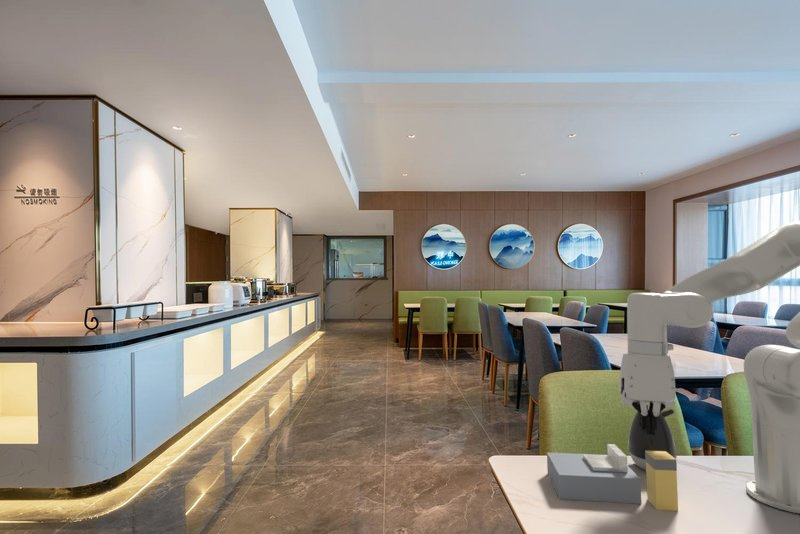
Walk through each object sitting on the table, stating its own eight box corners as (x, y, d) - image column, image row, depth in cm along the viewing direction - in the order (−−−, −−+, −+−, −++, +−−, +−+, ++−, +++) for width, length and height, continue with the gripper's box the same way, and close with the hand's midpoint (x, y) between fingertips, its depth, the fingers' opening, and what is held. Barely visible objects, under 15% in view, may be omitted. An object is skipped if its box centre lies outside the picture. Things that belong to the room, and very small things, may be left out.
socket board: (618, 477, 97) (617, 455, 97) (641, 503, 85) (640, 478, 85) (547, 473, 99) (546, 452, 99) (560, 499, 87) (559, 474, 87)
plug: (668, 500, 86) (666, 451, 87) (678, 511, 82) (676, 459, 83) (647, 499, 87) (645, 450, 87) (656, 509, 83) (654, 458, 83)
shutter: (615, 459, 95) (614, 444, 95) (627, 472, 88) (627, 456, 88) (583, 457, 96) (582, 443, 96) (592, 470, 89) (592, 455, 89)
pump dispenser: (686, 479, 95) (683, 412, 96) (636, 475, 98) (634, 410, 98) (667, 461, 105) (664, 400, 106) (622, 458, 108) (620, 398, 108)
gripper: (674, 347, 95) (675, 429, 94) (605, 345, 97) (605, 425, 96) (693, 352, 87) (694, 441, 86) (617, 349, 89) (618, 436, 88)
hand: (647, 432), depth 91 cm, fingers closed
